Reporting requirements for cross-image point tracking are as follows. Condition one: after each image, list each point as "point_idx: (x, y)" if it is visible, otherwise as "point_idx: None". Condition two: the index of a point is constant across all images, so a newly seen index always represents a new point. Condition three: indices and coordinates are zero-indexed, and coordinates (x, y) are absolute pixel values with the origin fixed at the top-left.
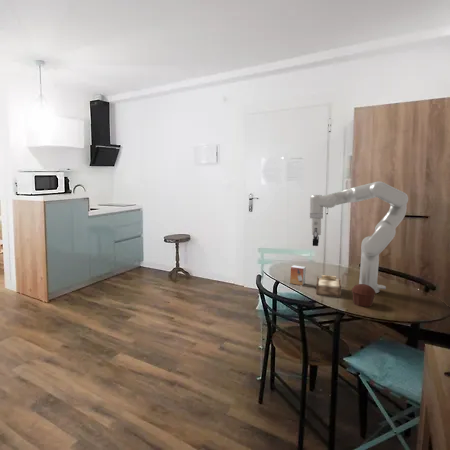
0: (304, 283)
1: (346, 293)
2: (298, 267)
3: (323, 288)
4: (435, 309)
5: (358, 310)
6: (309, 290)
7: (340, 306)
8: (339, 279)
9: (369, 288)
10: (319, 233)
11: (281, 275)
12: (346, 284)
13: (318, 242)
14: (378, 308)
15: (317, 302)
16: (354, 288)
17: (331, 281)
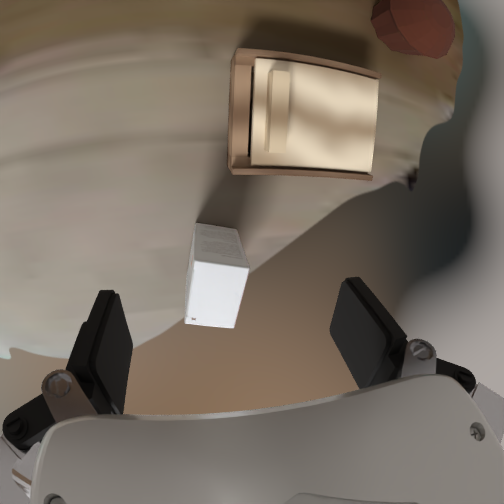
0: (199, 223)
1: (300, 43)
2: (233, 295)
3: None
4: None
5: (445, 66)
6: (301, 195)
7: (432, 106)
8: (267, 55)
9: (449, 11)
10: (468, 403)
11: None
12: (147, 31)
13: (110, 294)
14: None
15: (416, 171)
16: (440, 50)
17: (307, 101)
